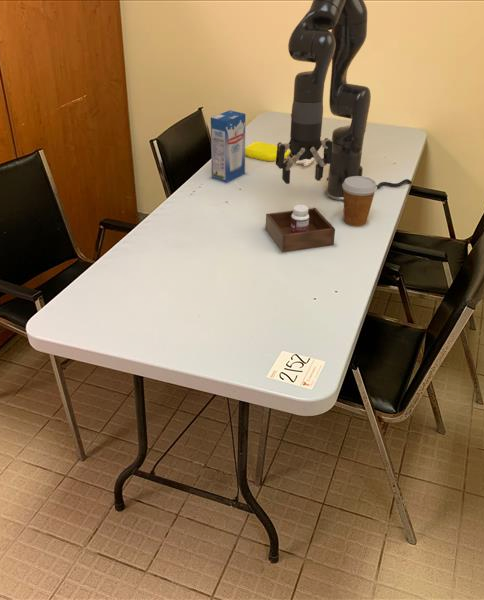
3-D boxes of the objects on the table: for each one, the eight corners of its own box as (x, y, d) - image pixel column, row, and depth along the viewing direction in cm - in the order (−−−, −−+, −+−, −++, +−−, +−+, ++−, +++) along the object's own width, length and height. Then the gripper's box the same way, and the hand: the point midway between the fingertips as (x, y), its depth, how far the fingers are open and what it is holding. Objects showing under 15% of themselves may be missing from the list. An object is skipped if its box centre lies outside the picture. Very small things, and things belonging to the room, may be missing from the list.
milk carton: (226, 182, 194) (226, 121, 183) (211, 178, 197) (210, 117, 186) (244, 173, 201) (245, 113, 189) (230, 169, 204) (230, 110, 192)
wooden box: (314, 223, 170) (315, 207, 168) (333, 245, 159) (335, 228, 157) (265, 229, 167) (265, 213, 164) (282, 252, 156) (282, 236, 153)
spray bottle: (256, 147, 221) (317, 160, 212) (241, 156, 213) (304, 170, 204) (256, 140, 220) (318, 152, 210) (241, 148, 212) (305, 162, 202)
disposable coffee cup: (351, 211, 177) (356, 172, 170) (378, 221, 171) (384, 182, 164) (331, 221, 171) (335, 181, 165) (358, 232, 166) (364, 191, 159)
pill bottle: (288, 232, 165) (290, 204, 160) (305, 231, 165) (308, 203, 160) (291, 240, 161) (293, 212, 156) (309, 239, 161) (311, 211, 156)
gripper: (284, 125, 140) (281, 189, 149) (340, 120, 144) (333, 183, 153) (274, 115, 146) (271, 178, 155) (327, 111, 150) (322, 173, 159)
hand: (302, 181), depth 154 cm, fingers open, 8 cm apart
